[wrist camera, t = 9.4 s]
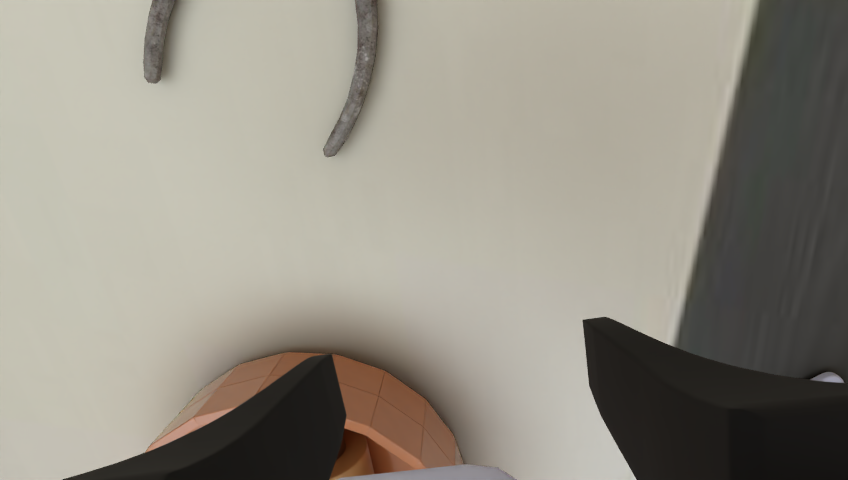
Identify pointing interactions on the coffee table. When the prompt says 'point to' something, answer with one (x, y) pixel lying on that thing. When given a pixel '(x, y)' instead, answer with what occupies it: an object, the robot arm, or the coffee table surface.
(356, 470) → the rolling pin
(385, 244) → the coffee table surface
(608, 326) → the robot arm
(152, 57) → the pliers
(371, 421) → the bowl
